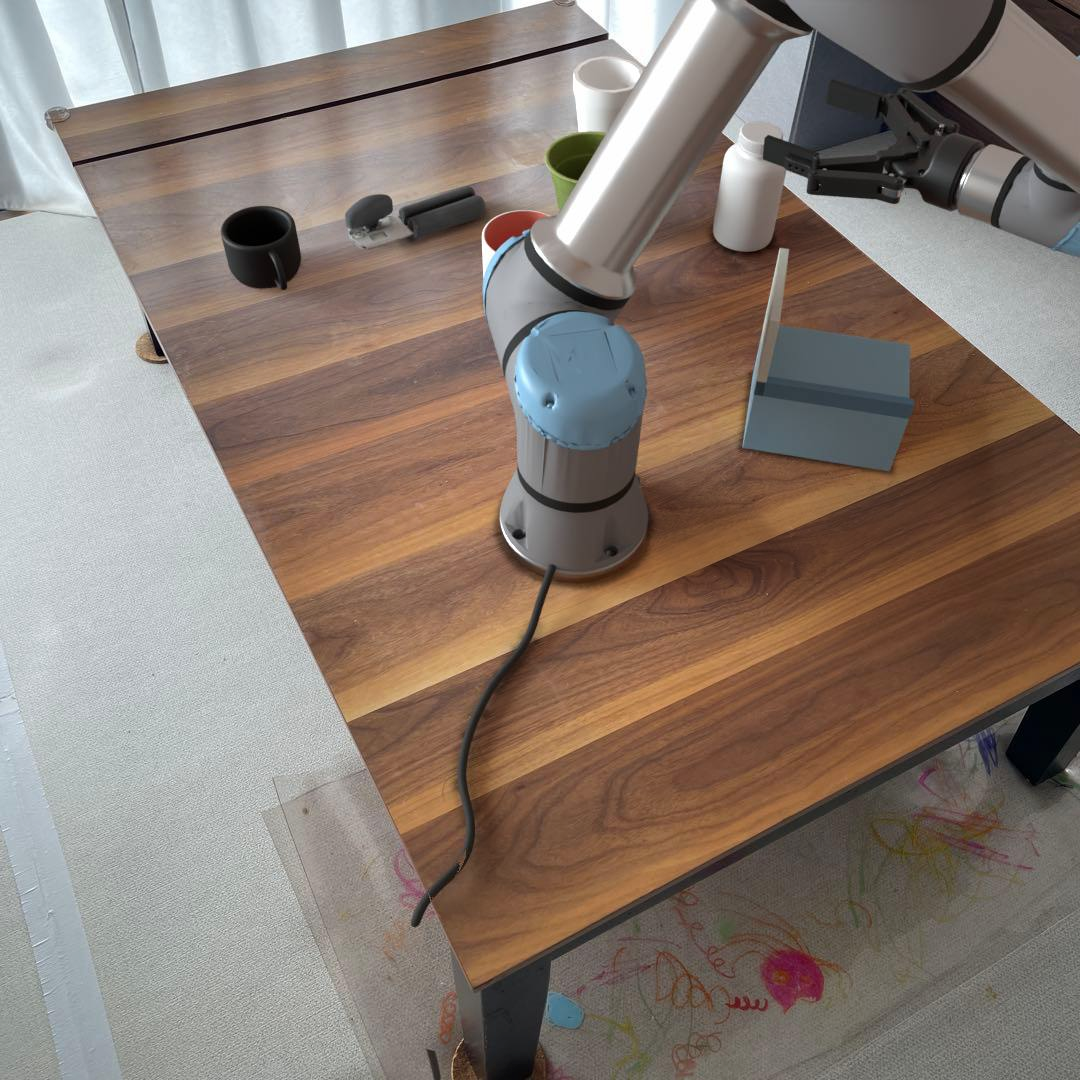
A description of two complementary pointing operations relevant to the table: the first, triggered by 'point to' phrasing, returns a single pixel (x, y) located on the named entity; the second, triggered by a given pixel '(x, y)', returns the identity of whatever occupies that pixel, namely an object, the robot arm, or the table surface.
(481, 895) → the table surface
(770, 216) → the pill bottle
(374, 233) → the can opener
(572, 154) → the plant pot
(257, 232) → the mug
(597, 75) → the foam cup
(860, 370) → the bookend
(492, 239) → the cup
